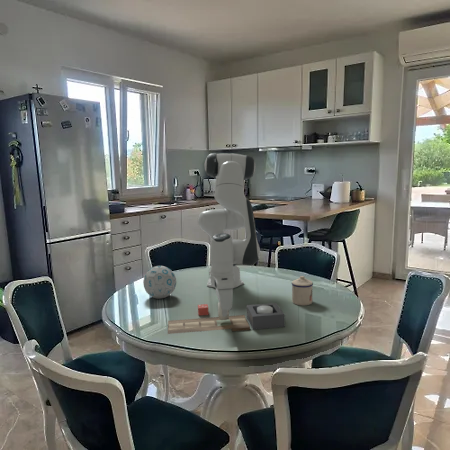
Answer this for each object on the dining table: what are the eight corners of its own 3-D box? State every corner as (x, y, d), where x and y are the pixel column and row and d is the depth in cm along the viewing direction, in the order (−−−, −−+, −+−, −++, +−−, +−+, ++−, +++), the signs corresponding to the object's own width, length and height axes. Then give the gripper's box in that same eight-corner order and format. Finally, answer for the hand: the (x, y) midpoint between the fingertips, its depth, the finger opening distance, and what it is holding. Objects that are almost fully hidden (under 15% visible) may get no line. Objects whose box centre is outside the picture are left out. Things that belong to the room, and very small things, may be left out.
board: (168, 323, 148) (168, 320, 148) (244, 317, 151) (244, 314, 151) (167, 336, 136) (167, 333, 136) (250, 329, 140) (250, 327, 140)
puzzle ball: (143, 304, 169) (141, 271, 167) (145, 293, 184) (143, 263, 182) (177, 301, 172) (176, 269, 169) (176, 291, 186) (175, 261, 184)
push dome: (255, 313, 149) (255, 306, 148) (270, 312, 149) (270, 304, 149) (258, 319, 143) (258, 311, 142) (274, 318, 144) (274, 310, 143)
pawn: (218, 316, 146) (217, 301, 145) (228, 315, 146) (228, 300, 145) (218, 320, 142) (217, 305, 141) (229, 319, 142) (228, 304, 141)
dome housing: (246, 317, 152) (246, 305, 151) (276, 314, 153) (276, 302, 152) (252, 329, 140) (252, 316, 139) (284, 326, 141) (284, 314, 141)
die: (198, 314, 156) (197, 304, 156) (207, 313, 157) (207, 303, 156) (198, 317, 152) (198, 308, 152) (208, 317, 153) (208, 307, 152)
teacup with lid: (314, 305, 162) (314, 279, 160) (293, 306, 162) (293, 279, 160) (309, 296, 173) (309, 271, 172) (289, 296, 174) (289, 271, 172)
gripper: (211, 270, 151) (212, 304, 154) (217, 286, 131) (218, 324, 133) (227, 269, 152) (228, 302, 154) (235, 285, 132) (236, 322, 134)
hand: (223, 313), depth 144 cm, fingers closed on pawn, 4 cm apart
